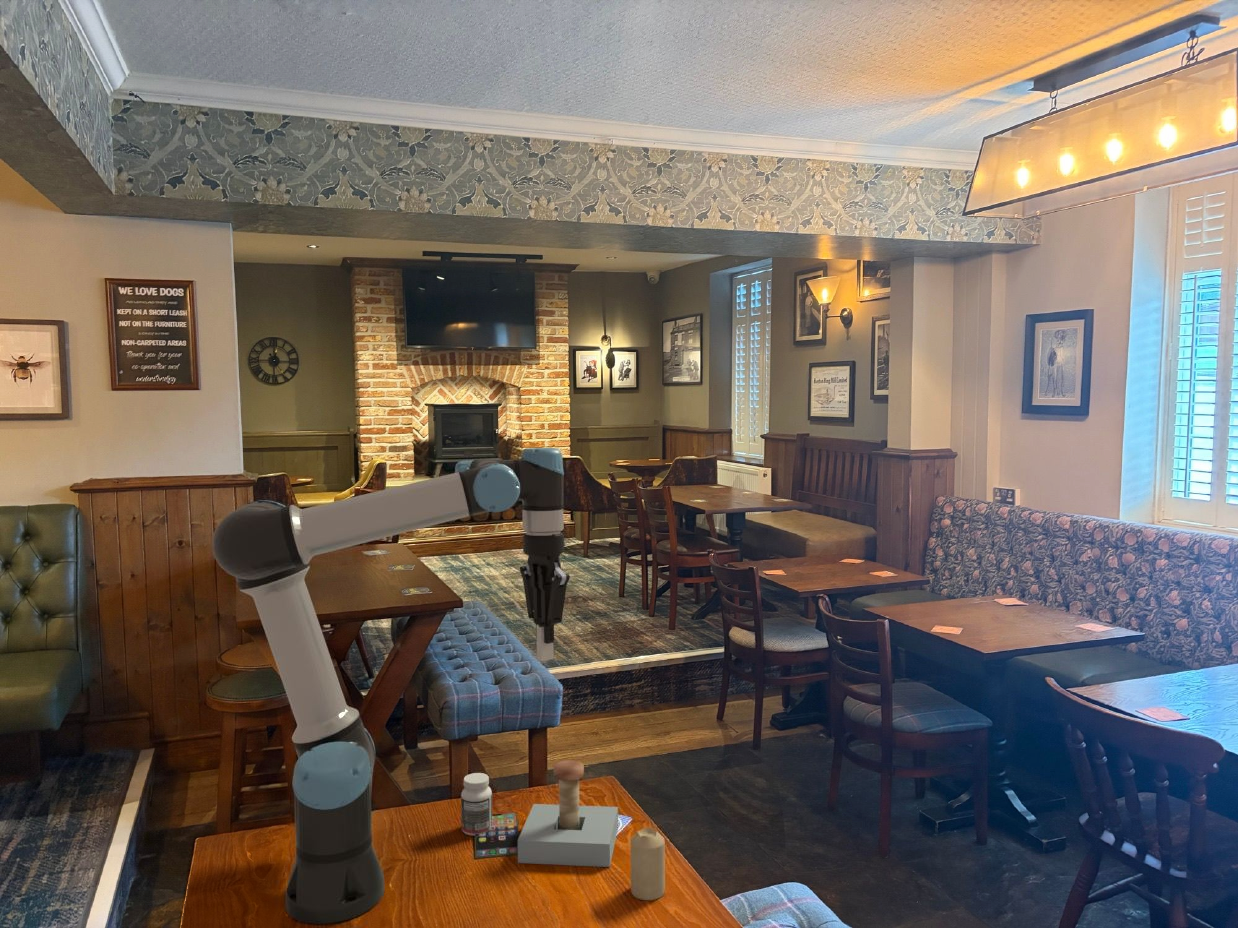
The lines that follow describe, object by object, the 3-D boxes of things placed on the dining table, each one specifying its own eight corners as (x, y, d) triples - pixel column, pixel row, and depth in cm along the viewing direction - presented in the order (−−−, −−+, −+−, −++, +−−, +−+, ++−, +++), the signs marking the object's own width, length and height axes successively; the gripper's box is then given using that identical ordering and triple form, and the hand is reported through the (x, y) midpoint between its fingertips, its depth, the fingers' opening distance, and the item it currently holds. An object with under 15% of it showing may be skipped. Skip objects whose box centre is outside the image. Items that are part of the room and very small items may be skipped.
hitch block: (518, 862, 149) (517, 840, 149) (533, 824, 163) (533, 803, 163) (609, 866, 148) (609, 843, 147) (618, 827, 161) (617, 806, 161)
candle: (662, 902, 137) (662, 841, 136) (628, 898, 138) (627, 838, 137) (667, 883, 142) (666, 824, 141) (634, 880, 143) (633, 821, 143)
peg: (552, 851, 153) (551, 771, 152) (557, 836, 158) (556, 759, 157) (582, 852, 152) (581, 772, 151) (586, 837, 158) (585, 760, 157)
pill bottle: (469, 820, 165) (468, 769, 164) (496, 824, 163) (496, 772, 163) (456, 834, 159) (455, 782, 159) (485, 838, 158) (484, 785, 157)
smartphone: (475, 861, 151) (474, 854, 151) (474, 821, 165) (474, 815, 165) (521, 857, 152) (521, 850, 152) (516, 817, 167) (516, 811, 167)
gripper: (581, 533, 155) (582, 663, 156) (540, 526, 165) (542, 648, 166) (546, 538, 150) (548, 671, 151) (507, 530, 160) (509, 655, 162)
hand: (545, 659), depth 159 cm, fingers closed
